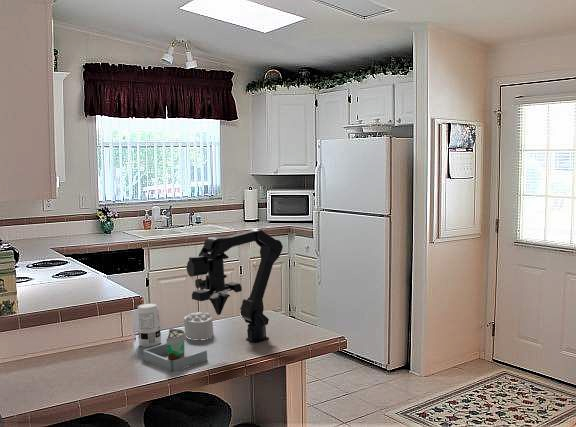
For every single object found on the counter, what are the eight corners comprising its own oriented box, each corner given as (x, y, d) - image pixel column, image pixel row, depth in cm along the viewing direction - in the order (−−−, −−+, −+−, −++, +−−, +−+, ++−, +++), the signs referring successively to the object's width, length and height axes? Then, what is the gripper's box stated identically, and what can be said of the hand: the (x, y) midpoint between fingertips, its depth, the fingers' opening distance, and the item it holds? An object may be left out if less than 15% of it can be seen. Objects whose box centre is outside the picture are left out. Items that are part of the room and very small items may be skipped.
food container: (186, 366, 201) (184, 337, 200) (168, 368, 201) (166, 339, 200) (188, 354, 214) (186, 327, 213) (171, 355, 213) (169, 328, 212)
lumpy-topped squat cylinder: (207, 329, 243) (206, 308, 242) (217, 337, 231) (216, 316, 230) (182, 333, 239) (181, 312, 238) (191, 342, 227) (190, 320, 226)
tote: (177, 349, 220) (176, 340, 219) (207, 360, 206) (206, 350, 206) (142, 359, 210) (142, 350, 210) (172, 372, 197) (171, 361, 196)
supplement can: (134, 345, 227) (132, 306, 226) (153, 339, 233) (150, 301, 232) (147, 349, 222) (144, 309, 220) (165, 343, 228) (162, 304, 226)
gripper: (222, 265, 226) (225, 305, 228) (181, 274, 214) (184, 316, 215) (241, 268, 218) (243, 310, 220) (199, 278, 206) (202, 322, 207)
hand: (218, 314), depth 216 cm, fingers closed
